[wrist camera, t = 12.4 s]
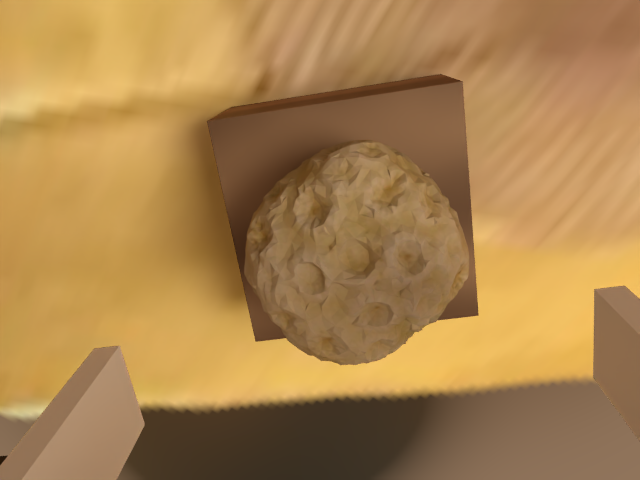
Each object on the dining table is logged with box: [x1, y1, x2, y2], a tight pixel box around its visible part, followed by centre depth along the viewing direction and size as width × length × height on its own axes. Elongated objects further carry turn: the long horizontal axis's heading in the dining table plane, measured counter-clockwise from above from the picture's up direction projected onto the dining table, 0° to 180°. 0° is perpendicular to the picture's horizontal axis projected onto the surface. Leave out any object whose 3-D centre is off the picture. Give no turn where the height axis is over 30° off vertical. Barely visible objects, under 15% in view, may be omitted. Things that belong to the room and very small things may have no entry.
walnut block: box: [207, 74, 478, 341], centre depth 30 cm, size 12×12×6 cm
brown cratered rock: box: [244, 140, 469, 365], centre depth 24 cm, size 9×9×8 cm
